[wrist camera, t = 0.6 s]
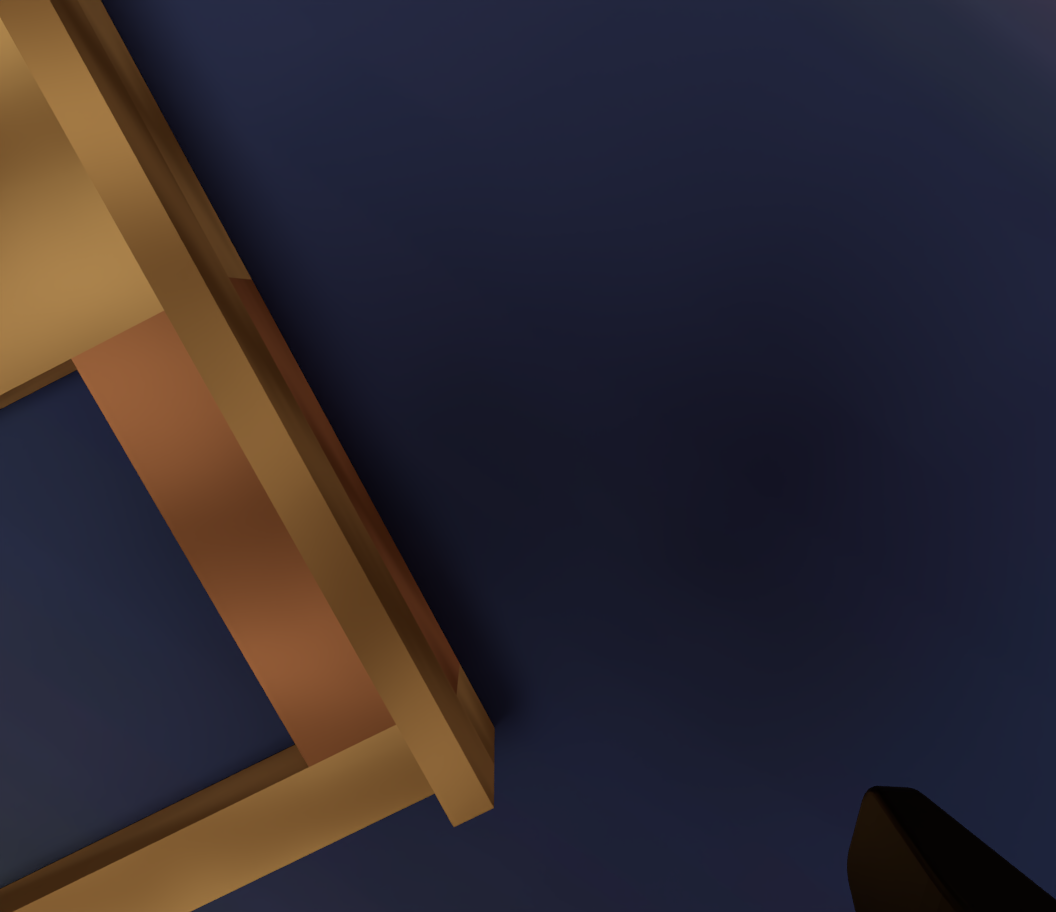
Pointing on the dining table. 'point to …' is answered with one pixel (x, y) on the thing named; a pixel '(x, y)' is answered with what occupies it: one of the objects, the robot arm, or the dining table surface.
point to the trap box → (213, 482)
